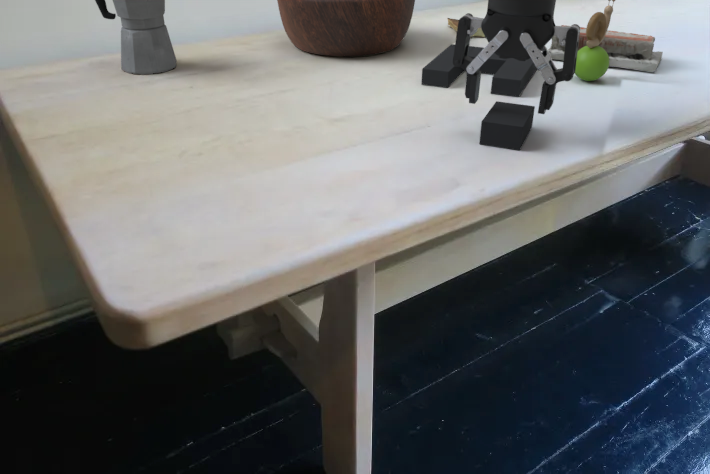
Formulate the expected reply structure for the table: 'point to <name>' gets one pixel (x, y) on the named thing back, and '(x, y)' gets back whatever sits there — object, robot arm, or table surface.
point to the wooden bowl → (346, 25)
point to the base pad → (506, 72)
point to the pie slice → (454, 25)
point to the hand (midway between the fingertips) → (507, 106)
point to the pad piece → (507, 125)
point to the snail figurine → (594, 47)
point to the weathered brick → (618, 50)
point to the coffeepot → (142, 35)
